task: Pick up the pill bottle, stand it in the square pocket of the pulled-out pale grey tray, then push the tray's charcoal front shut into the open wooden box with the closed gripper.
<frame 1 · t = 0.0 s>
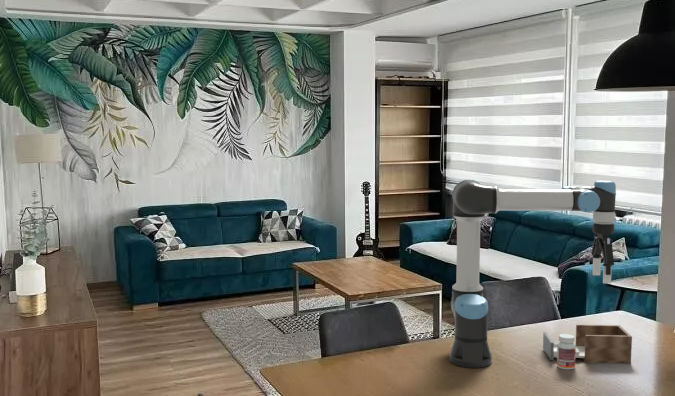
hand: (601, 279, 266), 28 cm above the table, fingers open, 13 cm apart
pill bottle: (565, 367, 253), on the table
tray: (568, 346, 264), point 4 cm above the table, slide at 11.0 cm
wooden box: (602, 356, 264), on the table
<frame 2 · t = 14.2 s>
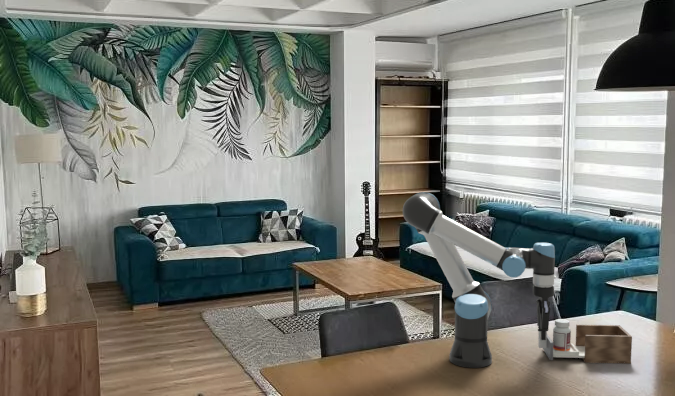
hand: (542, 347, 265), 3 cm above the table, fingers closed
pill bottle: (561, 351, 265), point 2 cm above the table, touching tray
tray: (568, 346, 264), point 4 cm above the table, slide at 11.1 cm, touching gripper, pill bottle
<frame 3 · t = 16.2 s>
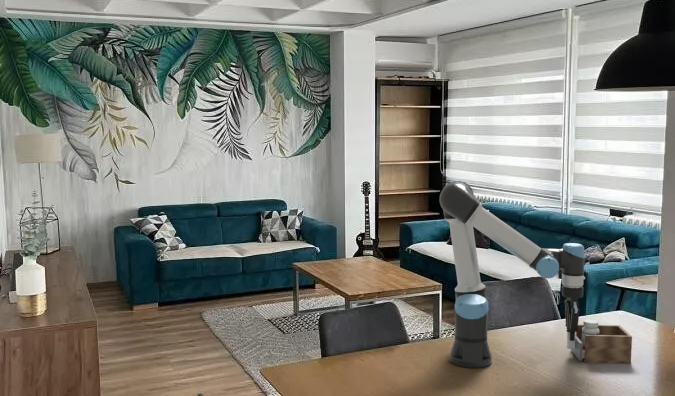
hand: (570, 348, 264), 3 cm above the table, fingers closed
pill bottle: (589, 351, 264), point 2 cm above the table, touching tray
tray: (596, 346, 264), point 4 cm above the table, slide at 0.8 cm, touching gripper, pill bottle
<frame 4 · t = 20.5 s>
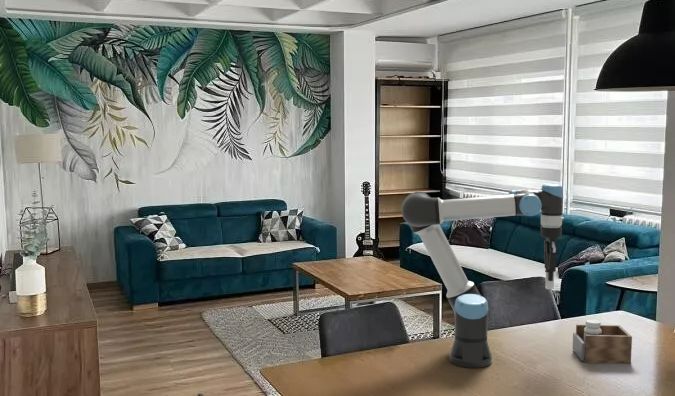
hand: (549, 288, 267), 24 cm above the table, fingers closed
tray: (599, 346, 264), point 4 cm above the table, slide at 0.0 cm, touching pill bottle
everything else where it was.
at the end: tray slide at 0.0 cm; pill bottle inside the target area on the wooden box (3.6 cm from its centre), point 1.9 cm above the wooden box's base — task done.
